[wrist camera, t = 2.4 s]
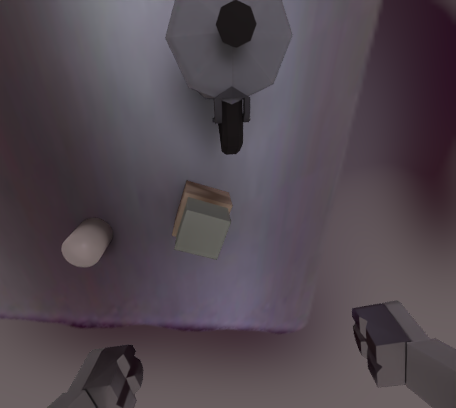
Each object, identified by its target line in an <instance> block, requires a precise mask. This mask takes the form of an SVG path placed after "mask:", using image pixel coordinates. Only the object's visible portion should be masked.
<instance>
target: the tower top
mask: <svg viewBox="0 0 456 408" xmlns="http://www.w3.org/2000/svg"><path fill="white" fill-rule="evenodd" d="M230 224H231V219H230V215H229V211H228V208H226V207H222V206H219V205H215V204H212V203H208V202H204V201H201V200H197V199H194V198H190V197H188V199H187V203H186V206H185V209H184V212H183V216H182V219H181V222H180V225H179V228H178V232H177V237H176V242H175V248H174V250H179V251H183V252H187V253H191V254H195V255H199V256H203V257H207V258H212V259H216V260H217V258H218V256H219V253H220V250H221V248H222V245H223V242H224V240H225V237H226V234H227V232H228V229H229V227H230Z"/></svg>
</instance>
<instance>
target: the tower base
mask: <svg viewBox="0 0 456 408" xmlns="http://www.w3.org/2000/svg"><path fill="white" fill-rule="evenodd" d="M188 197H190V198H194V199H197V200H201V201H204V202H208V203H212V204H215V205H219V206H222V207H226V208H228V211H229V214H230V211H231V209H232V206H233V205H232V202H231V199H230V195H229V192H225V191H222V190H218V189H215V188H211V187H208V186H204V185H201V184H198V183H194V182H191V181H186V184H185V188H184V191H183V195H182V198H181V201H180V205H179V208H178V212H177V215H176V218H175V223H174V228H173V233H172V236H175V237H177V232H178V228H179V225H180V222H181V219H182V216H183V212H184V209H185V206H186V203H187V199H188Z"/></svg>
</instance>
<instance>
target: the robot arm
mask: <svg viewBox="0 0 456 408" xmlns="http://www.w3.org/2000/svg"><path fill="white" fill-rule="evenodd" d="M352 317H353V319H354V321H355V325H354V326H353V331H354V337H355V340H356V343H357V346H358V349H359V351H360V353H361V355H362V356H363V357H365V358H366V359H367V362H368V369H369V371H370V373H371V375H372V377H373V379H374V380H375V383H376V385H377V387H388V386H397V385H406V386H407V387H408V388H409V389H410V390H412V391H413V392H414V393H415V394H417V395H418V396H419V397H420V398H421V399H423V400H424V401H425V402H426V403H428V404H429V405H430V406H431V407H432V408H456V349H455V348H453V347H451V346H449V345H447V344H445V343H443V342H441V341H440V340H438V339H436V338H434V339H430V338H429V337H428V335H427V334H426V333H425V332H424V331H423V329H422V328H421V327H420V326H419V324H418V323H417V322H416V321H415V320H414V318H413V317H412V316H411V315H410V313H408V311H407V310H406V309H405V307H404V306H403V305H402V304H401V303H400V302H399V301H391V302H385V303H382V304H381V303H380V304H374V305H368V306H362V307H356V308H352ZM135 352H136V350H135V348H134V347H133V345H122V346H115V347H108V348H102V349H95V350H92V351H91V352H90V353H89V354H88V356H87V358H86V359H85V361H84V363H83V365H82V366H81V368H80V370H79V372H78V374H77V376H76V377H75V379H74V381H73V383H72V384H71V386H70V388H69V390H68V392H67V393H63V394H62V395H61V396H59V397H58V398H57V399H56V400H55V401H54V402H53V403H52V404H51V405H49V406H48V407H47V408H134V407H135V404H136V398H135V393H136V392H137V391H138V390H139V389H140V387H141V384H142V380H143V366H142V363H141V361H140V359H138V358H137V357H135V356H134V355H135Z"/></svg>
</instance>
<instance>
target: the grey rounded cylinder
mask: <svg viewBox="0 0 456 408" xmlns="http://www.w3.org/2000/svg"><path fill="white" fill-rule="evenodd" d="M112 237H113V231H112V228H111V227H110V225H109V224H108V223H107V222H105V221H104V220H102V219H99V218H89V219H86V220H84V221H83V222H82V223H81V224H80V225H79V226H78V227H77V228H76V229H75V230H74V231H73V232H72V233H71V235H70V236H69V237H68V238H67V239H66V240H65V241H64V242H63V244H62V254H63V256H64V258H65V259H66V260H67V261H68V262H69V263H71V264H72V265H75V266H78V267H90V266H93V265H94V264H96V263H97V262H98V261H99V259H100V258H101V256H102V255H103V253H104V251H105V250H106V248H107V246H108V245H109V243H110V242H111V240H112Z"/></svg>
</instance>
